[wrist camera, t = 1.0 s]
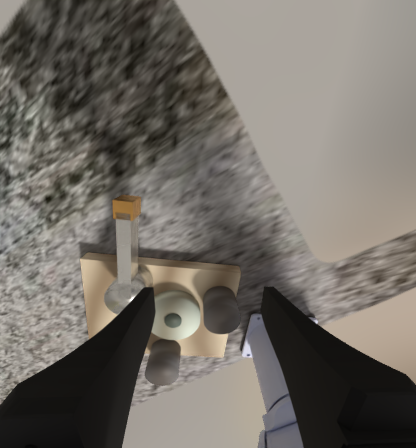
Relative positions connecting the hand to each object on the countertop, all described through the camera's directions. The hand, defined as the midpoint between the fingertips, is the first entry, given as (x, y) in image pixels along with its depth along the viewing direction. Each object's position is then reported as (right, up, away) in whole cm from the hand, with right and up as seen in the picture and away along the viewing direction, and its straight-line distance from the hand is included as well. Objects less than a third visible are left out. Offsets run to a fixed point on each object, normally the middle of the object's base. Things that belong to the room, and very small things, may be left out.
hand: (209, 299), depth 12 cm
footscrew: (-8, +2, +8) cm, 11 cm away
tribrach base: (-6, -6, +13) cm, 15 cm away
